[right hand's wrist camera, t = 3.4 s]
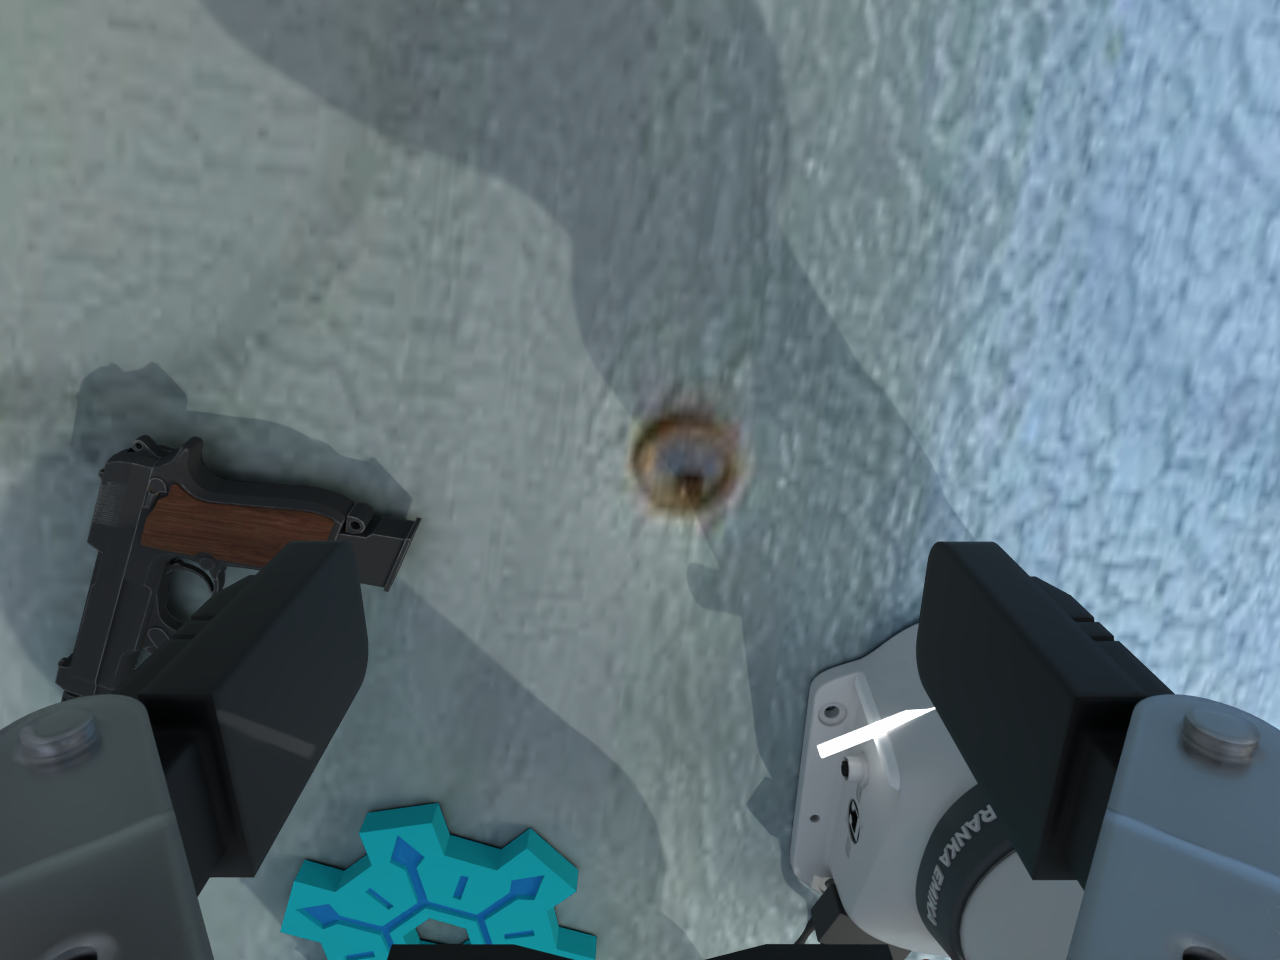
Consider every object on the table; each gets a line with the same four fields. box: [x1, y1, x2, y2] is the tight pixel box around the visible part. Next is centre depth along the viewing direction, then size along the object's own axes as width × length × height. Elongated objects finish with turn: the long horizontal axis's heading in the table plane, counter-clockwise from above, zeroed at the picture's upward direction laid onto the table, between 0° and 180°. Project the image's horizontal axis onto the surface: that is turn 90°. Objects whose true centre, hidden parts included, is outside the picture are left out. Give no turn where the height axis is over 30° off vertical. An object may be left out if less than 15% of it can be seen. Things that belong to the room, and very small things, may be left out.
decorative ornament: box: [280, 803, 597, 960], centre depth 52 cm, size 20×2×20 cm
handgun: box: [55, 435, 422, 702], centre depth 43 cm, size 4×21×15 cm
